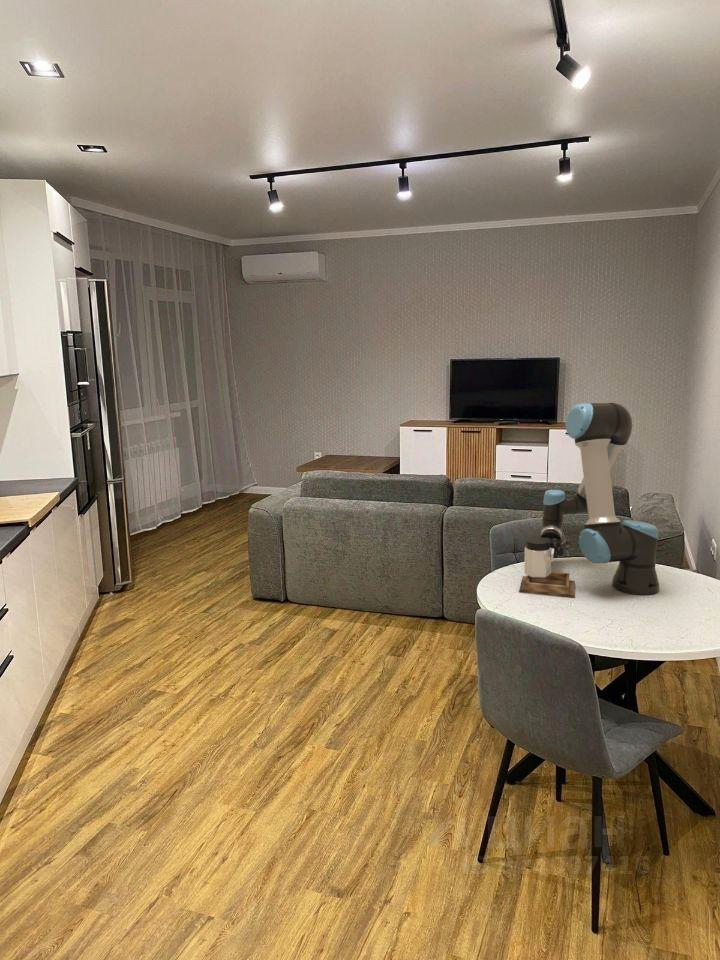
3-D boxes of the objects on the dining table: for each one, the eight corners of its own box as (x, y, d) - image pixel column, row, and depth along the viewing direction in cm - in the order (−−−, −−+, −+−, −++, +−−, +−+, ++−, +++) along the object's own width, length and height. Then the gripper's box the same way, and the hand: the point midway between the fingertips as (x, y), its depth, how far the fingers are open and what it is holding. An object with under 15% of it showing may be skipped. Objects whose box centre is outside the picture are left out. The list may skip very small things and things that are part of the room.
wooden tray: (574, 583, 251) (575, 574, 250) (574, 597, 237) (575, 587, 236) (522, 578, 256) (522, 569, 255) (519, 592, 242) (519, 582, 241)
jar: (543, 579, 240) (543, 545, 237) (521, 575, 245) (521, 541, 242) (554, 572, 246) (555, 539, 244) (532, 568, 251) (532, 535, 249)
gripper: (571, 550, 260) (570, 570, 238) (529, 546, 264) (525, 565, 242) (572, 530, 258) (572, 548, 236) (530, 526, 262) (526, 544, 240)
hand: (548, 557), depth 239 cm, fingers closed on jar, 2 cm apart
